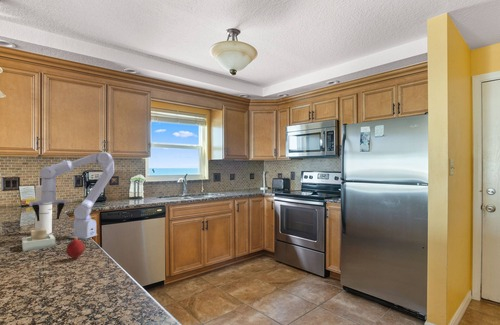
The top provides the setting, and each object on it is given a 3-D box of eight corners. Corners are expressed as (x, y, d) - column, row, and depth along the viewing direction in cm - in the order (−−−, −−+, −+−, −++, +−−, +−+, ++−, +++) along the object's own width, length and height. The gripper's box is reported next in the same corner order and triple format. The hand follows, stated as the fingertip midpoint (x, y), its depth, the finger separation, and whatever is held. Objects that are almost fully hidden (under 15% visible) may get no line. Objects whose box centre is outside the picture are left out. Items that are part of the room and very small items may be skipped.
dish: (52, 241, 130) (52, 234, 130) (55, 246, 122) (55, 238, 122) (21, 245, 123) (22, 237, 123) (22, 251, 114) (23, 242, 114)
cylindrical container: (55, 231, 150) (55, 185, 150) (44, 235, 143) (44, 186, 143) (42, 231, 151) (43, 185, 151) (31, 234, 143) (32, 186, 144)
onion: (75, 262, 101) (75, 239, 101) (62, 260, 102) (62, 239, 103) (87, 257, 107) (88, 236, 107) (75, 256, 108) (75, 235, 108)
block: (45, 241, 126) (45, 228, 126) (46, 243, 122) (46, 230, 122) (31, 243, 123) (31, 229, 123) (31, 245, 119) (32, 231, 119)
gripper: (65, 190, 142) (64, 216, 142) (29, 191, 133) (28, 220, 132) (67, 191, 137) (67, 218, 137) (29, 192, 127) (29, 222, 127)
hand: (48, 219), depth 134 cm, fingers open, 7 cm apart
